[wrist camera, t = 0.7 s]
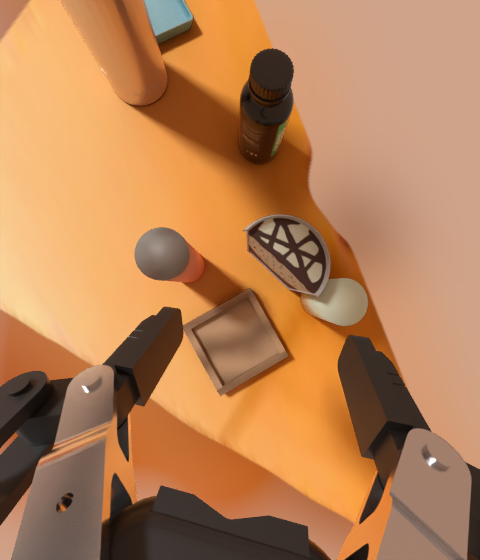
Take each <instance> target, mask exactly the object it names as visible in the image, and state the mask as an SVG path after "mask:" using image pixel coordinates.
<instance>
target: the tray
mask: <svg viewBox="0 0 480 560" xmlns="http://www.w3.org/2000/svg"><path fill="white" fill-rule="evenodd" d="M183 330H184V331H185V333H186V335H187V337H188V339H189V340H190V342H191V344H192V346H193V348H194V350H195V351H196V353H197V355H198V357H199V359H200V360H201V362H202V364H203V366H204V368H205V369H206V371H207V373H208V375H209V377H210V379H211V380H212V382H213V384H214V386H215V388H216V389H217V391H218V393H219V395H220V396H221V395H223V394H225V393H226V392H228V391H230V390H232V389H233V388H235V387H237V386H238V385H240V384H242V383H244V382H245V381H247V380H249V379H251V378H252V377H254V376H256V375H257V374H259V373H261V372H263V371H264V370H266V369H268V368H269V367H271V366H273V365H275V364H276V363H278V362H280V361H281V360H283V359H285V358H287V357H288V354H287V352H286V351H285V349H284V347H283V345H282V343H281V342H280V340H279V338H278V336H277V335H276V333H275V331H274V329H273V327H272V326H271V324H270V322H269V320H268V318H267V317H266V315H265V313H264V311H263V309H262V308H261V306H260V304H259V302H258V301H257V299H256V297H255V295H254V293H253V292H252V290H251V288H249V289H247V290H245V291H243V292H242V293H240V294H238V295H236V296H235V297H233V298H231V299H229V300H227V301H226V302H224V303H222V304H220V305H219V306H217V307H215V308H213V309H211V310H210V311H208V312H206V313H204V314H202V315H201V316H199V317H197V318H195V319H194V320H192V321H190V322H188V323H186V324H185V325H183Z"/></svg>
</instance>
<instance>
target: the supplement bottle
mask: <svg viewBox="0 0 480 560" xmlns="http://www.w3.org/2000/svg"><path fill="white" fill-rule="evenodd" d="M293 73H294V70H293V65H292V62H291V59H290V58H289V57H288V55H286V54H285V53H284V52H282V51H280V50H278V49H273V48H272V49H267V50H266V49H265V50H263V51H260V52H259V53H257V55H256V56H255V57H254V59H253V60H252V63H251V66H250V75H249V79H248V81H247V82H246V83H245V85H244V86H243V88H242V91H241V95H240V113H239V148H240V151H241V153H242V155H243V156H244V157H245V158H246V159H247V160H248V161H250V162H252V163H256V164H263V163H267V162H269V161H271V160H272V159H273V158H274V157H275V156H276V155H277V153H278V151H279V148H280V145H281V142H282V139H283V136H284V133H285V130H286V127H287V124H288V121H289V118H290V115H291V111H292V108H293V93H292V89H291V82H292V79H293Z"/></svg>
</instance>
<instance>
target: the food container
mask: <svg viewBox="0 0 480 560" xmlns="http://www.w3.org/2000/svg"><path fill="white" fill-rule="evenodd" d="M244 231H247V251H248V252H249V253H250V254H252V255H253V256H254V257H255V258H256V259H257V260H258V261H259V262H260V263H261V264H262V265H263V266H264V267H265V268H266V269H267V270H269V271H270V272H271V273H272V274H273V275H274V276H275V277H276V278H277V279H278V280H279V281H280V282H281V283H282V284H283V285H285V286H286V287H287V288H288V289H289V290H293V291H297V292H301V293H305V294H309V295H314V296H315V297H314V298H318V297H319V295H320V294H321V293H322V291H323V289H324V288H325V286H326V283H327V281H328V278H329V273H330V254H329V250H328V247H327V245H326V243H325V240H324V239H323V237H322V236H321V234H320V233H319V232H318V231H317V230H316V229H315V228H314V227H313V226H312V225H311V224H309V223H308V222H306V221H304V220H302V219H300V218H297V217H295V216H290V215H282V214H278V215H270V216H266V217H263V218H261V219H258V220H256V221H255V222H253V223H252V224H250V225H249V226H248V227H247V228H245V229H244V230H243V232H244Z"/></svg>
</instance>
